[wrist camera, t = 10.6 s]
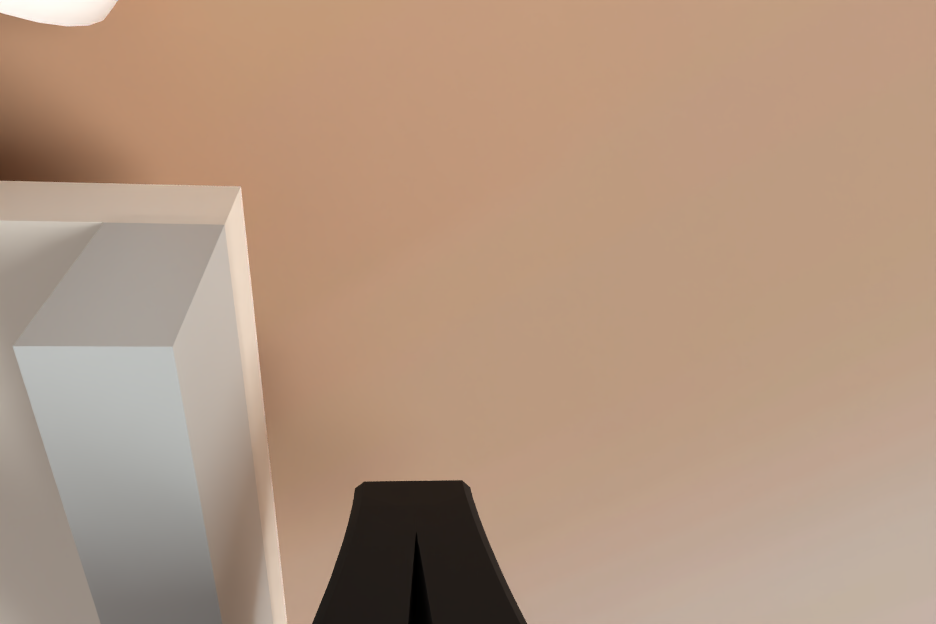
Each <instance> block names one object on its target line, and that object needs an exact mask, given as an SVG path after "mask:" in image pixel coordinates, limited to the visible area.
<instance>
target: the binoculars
mask: <svg viewBox="0 0 936 624" xmlns="http://www.w3.org/2000/svg"><path fill="white" fill-rule="evenodd" d="M117 1H118V0H0V13H3V14H7V15H11V16H15V17H19V18H23V19H27V20H31V21H35V22H39V23H46V24H54V25H61V26H87V25H92V24H94V23H97V22H100V21H102V20H104V19H105V17H106V16H107V15H108V14H109V12H110V11H111V9H112V8H113V7H114V5H115V4H116V2H117Z"/></svg>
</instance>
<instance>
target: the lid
mask: <svg viewBox="0 0 936 624" xmlns="http://www.w3.org/2000/svg"><path fill="white" fill-rule="evenodd" d="M0 624H287V617H286V607H285V598H284V589H283V579H282V570H281V560H280V551H279V542H278V532H277V523H276V513H275V504H274V494H273V485H272V476H271V466H270V457H269V447H268V438H267V429H266V419H265V410H264V400H263V391H262V381H261V372H260V363H259V353H258V344H257V334H256V325H255V315H254V306H253V297H252V287H251V278H250V268H249V259H248V250H247V240H246V231H245V221H244V212H243V202H242V193H241V186H201V185H159V184H117V183H74V182H32V181H0Z"/></svg>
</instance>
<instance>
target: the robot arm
mask: <svg viewBox="0 0 936 624" xmlns="http://www.w3.org/2000/svg"><path fill="white" fill-rule="evenodd" d="M312 624H527V623H526V621H525V619H524V617H523V615H522V613H521V611H520V609H519V607H518V605H517V603H516V601H515V599H514V597H513V595H512V593H511V591H510V589H509V587H508V585H507V582H506V580H505V578H504V576H503V574H502V572H501V569H500V567H499V565H498V562H497V560H496V558H495V555H494V553H493V551H492V549H491V546H490V544H489V541H488V539H487V536H486V534H485V531H484V529H483V526H482V523H481V521H480V518H479V515H478V512H477V509H476V506H475V503H474V500H473V497H472V493H471V489H470V487H469V486H468V485H467V484H466V483H464V482H463V481H462V480H455V481H380V482H363V483H362V484H361V485H359V486H358V487H357V488H355V493H354V500H353V505H352V510H351V514H350V518H349V522H348V526H347V530H346V533H345V537H344V540H343V543H342V546H341V549H340V552H339V555H338V558H337V561H336V564H335V567H334V570H333V573H332V576H331V578H330V581H329V584H328V586H327V589H326V591H325V594H324V596H323V599H322V601H321V604H320V606H319V608H318V611H317V613H316V616H315V618H314V621H313V623H312Z"/></svg>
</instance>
